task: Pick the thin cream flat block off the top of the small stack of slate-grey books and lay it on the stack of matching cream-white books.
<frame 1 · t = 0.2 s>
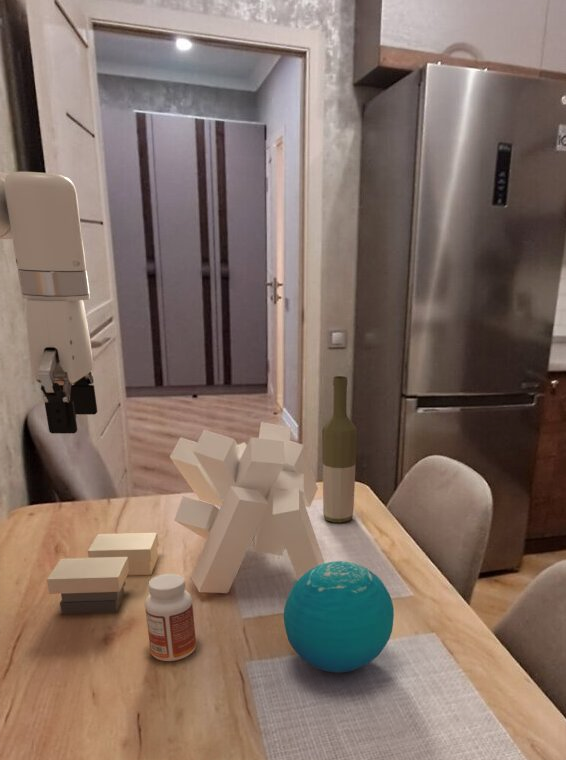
hand: (74, 422, 88), 31 cm above the table, tool pointing down, fingers open, 9 cm apart
cream flat block: (90, 581, 103), point 4 cm above the table, touching grey books
pill bottle: (173, 651, 95), on the table
decorative orb: (338, 663, 94), on the table
bottle: (338, 519, 142), on the table
grey books: (94, 604, 105), on the table
white books: (125, 566, 117), on the table
pile of blocks: (253, 564, 121), on the table
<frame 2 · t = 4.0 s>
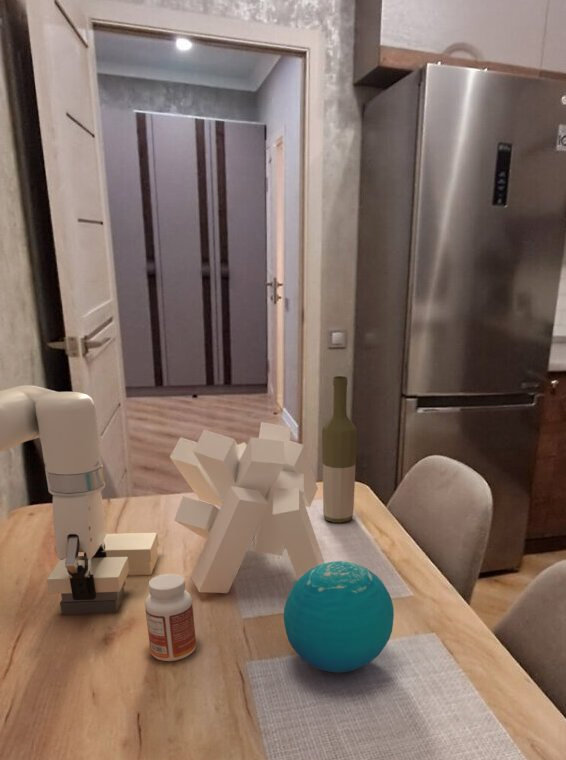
hand: (91, 585, 104), 3 cm above the table, tool pointing down, fingers closed on cream flat block, 7 cm apart
cream flat block: (90, 581, 103), point 4 cm above the table, touching grey books, gripper
everything else where it was.
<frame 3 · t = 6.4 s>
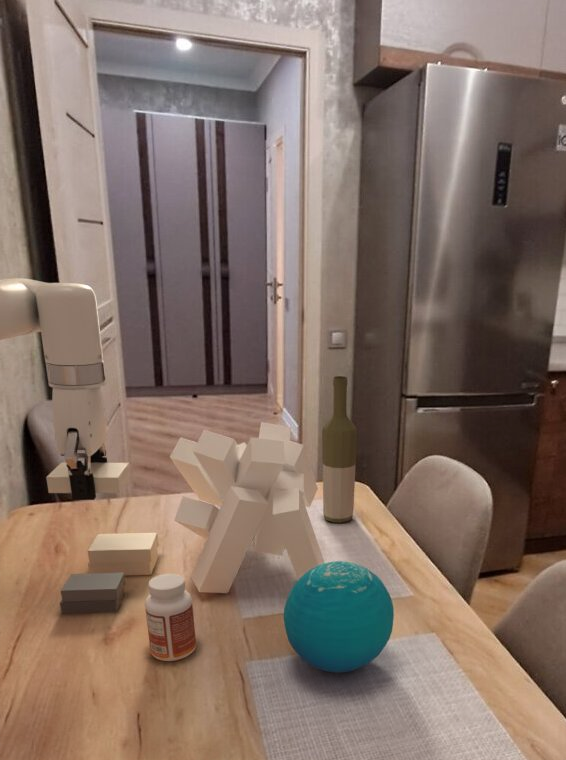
hand: (91, 489, 103), 18 cm above the table, tool pointing down, fingers closed on cream flat block, 7 cm apart
cream flat block: (91, 485, 102), point 18 cm above the table, touching gripper
everything else where it was.
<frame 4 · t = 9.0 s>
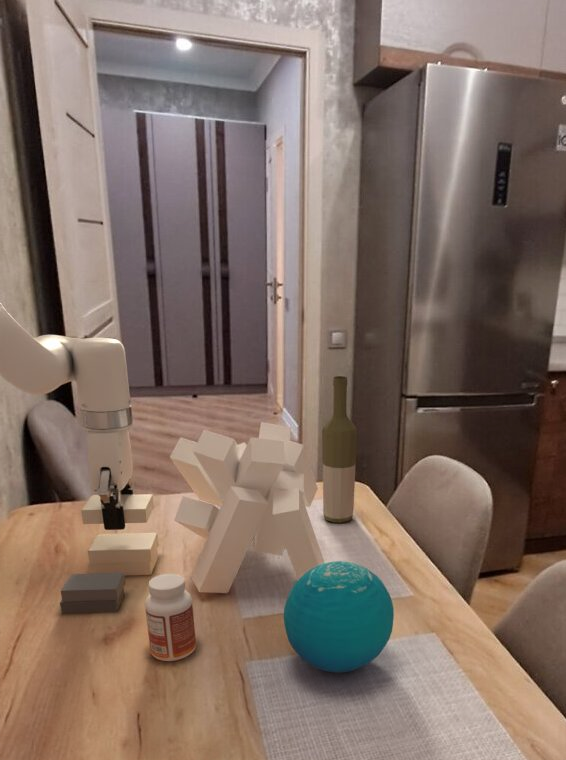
hand: (120, 519, 114), 9 cm above the table, tool pointing down, fingers closed on cream flat block, 7 cm apart
cream flat block: (119, 515, 113), point 10 cm above the table, touching gripper
everything else where it was.
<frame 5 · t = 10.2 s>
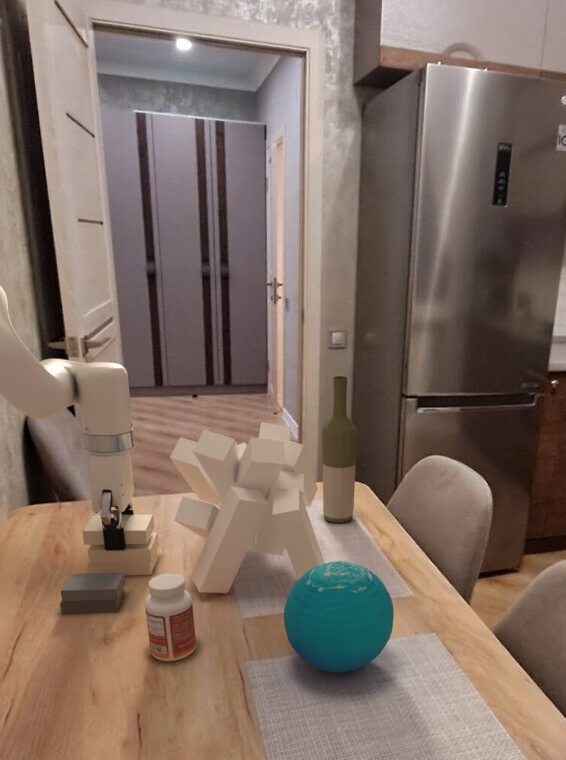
hand: (120, 539, 115), 5 cm above the table, tool pointing down, fingers closed on cream flat block, 7 cm apart
cream flat block: (120, 535, 115), point 6 cm above the table, touching gripper
everything else where it was.
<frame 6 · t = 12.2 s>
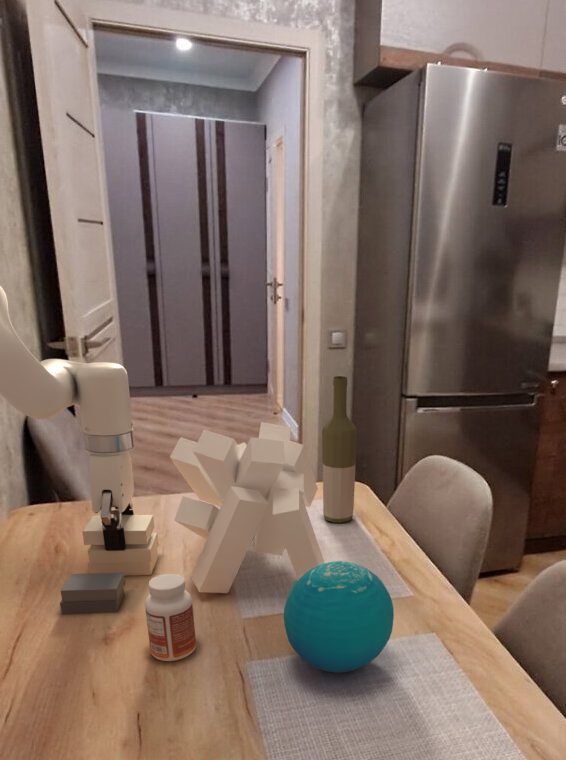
hand: (120, 539, 115), 5 cm above the table, tool pointing down, fingers closed on cream flat block, 7 cm apart
cream flat block: (120, 536, 115), point 6 cm above the table, touching gripper
everything else where it was.
when the fingers open (5 cm above the table, at t = 14.2 s): cream flat block stays where it is, resting on white books.
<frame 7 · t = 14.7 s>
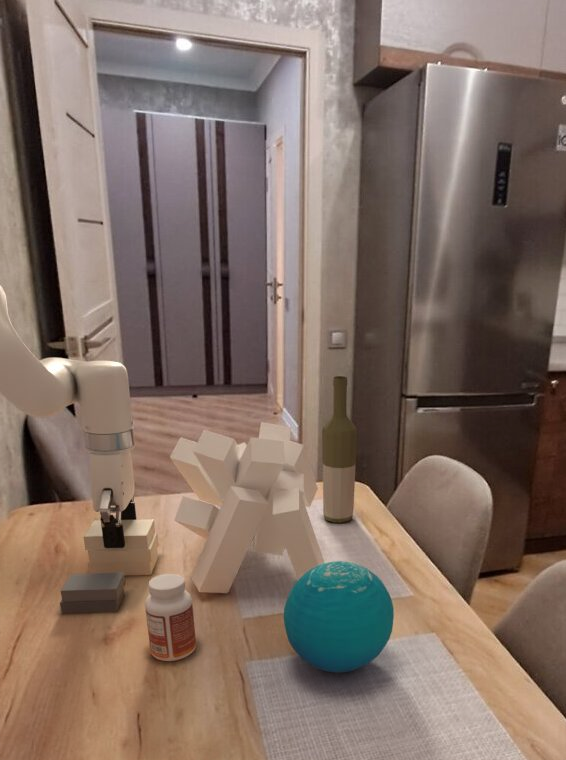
hand: (121, 535, 115), 6 cm above the table, tool pointing down, fingers open, 9 cm apart
cream flat block: (121, 540, 115), point 5 cm above the table, touching white books
everything else where it was.
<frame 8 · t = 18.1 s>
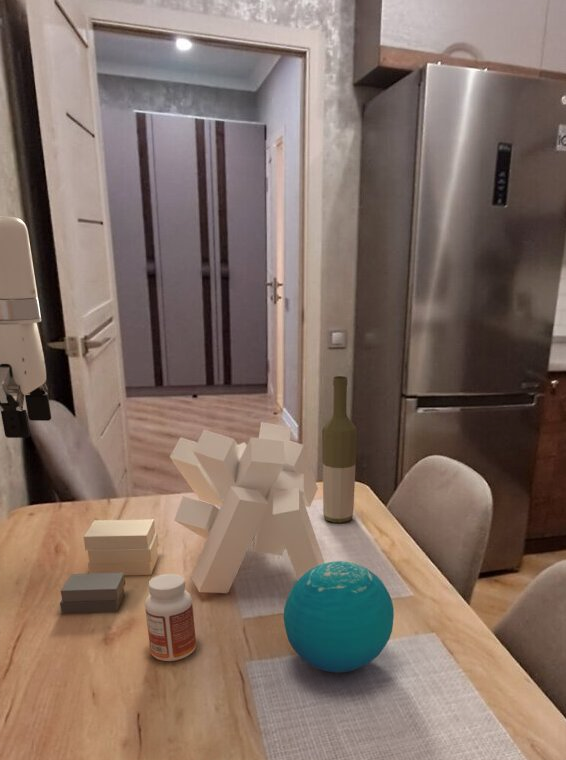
hand: (29, 428, 101), 26 cm above the table, tool pointing down, fingers open, 9 cm apart
nothing on the table moved.
at the end: cream flat block 0.1 cm off-centre on the white books, point 5.0 cm above the white books's base; cream flat block tilted 0°; the gripper is holding nothing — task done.
